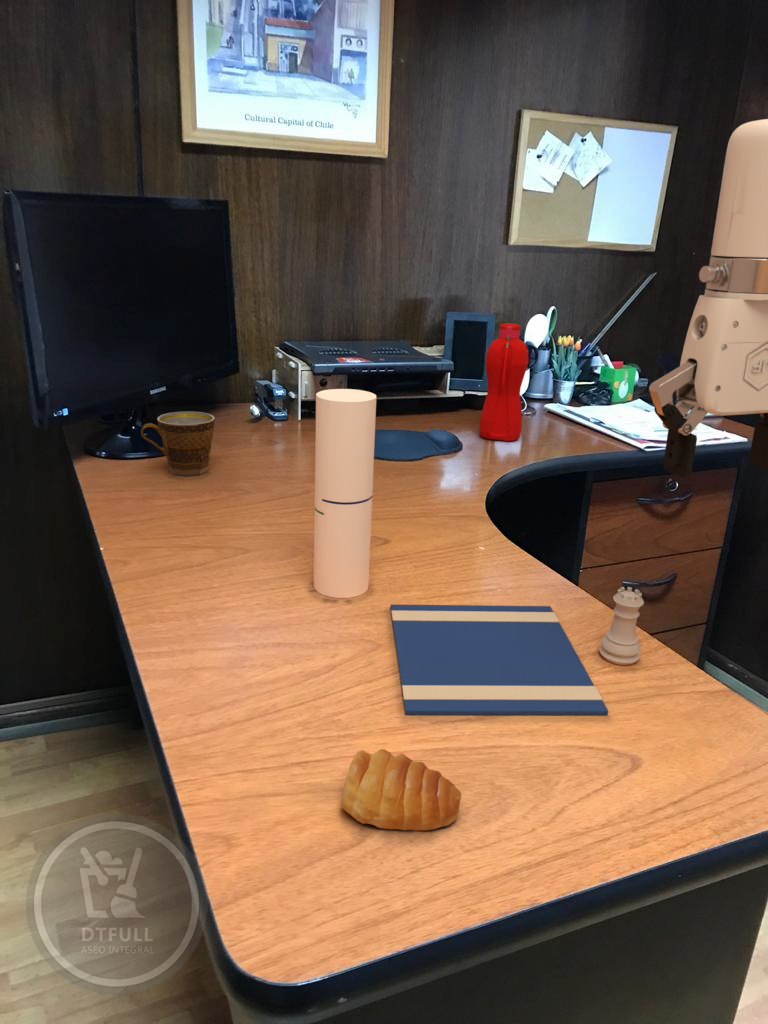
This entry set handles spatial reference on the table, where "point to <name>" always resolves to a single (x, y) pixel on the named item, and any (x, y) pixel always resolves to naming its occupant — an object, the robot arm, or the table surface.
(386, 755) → the pastry
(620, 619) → the rook chess piece
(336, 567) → the cylindrical container
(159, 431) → the ceramic cup
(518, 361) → the water bottle
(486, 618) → the towel
